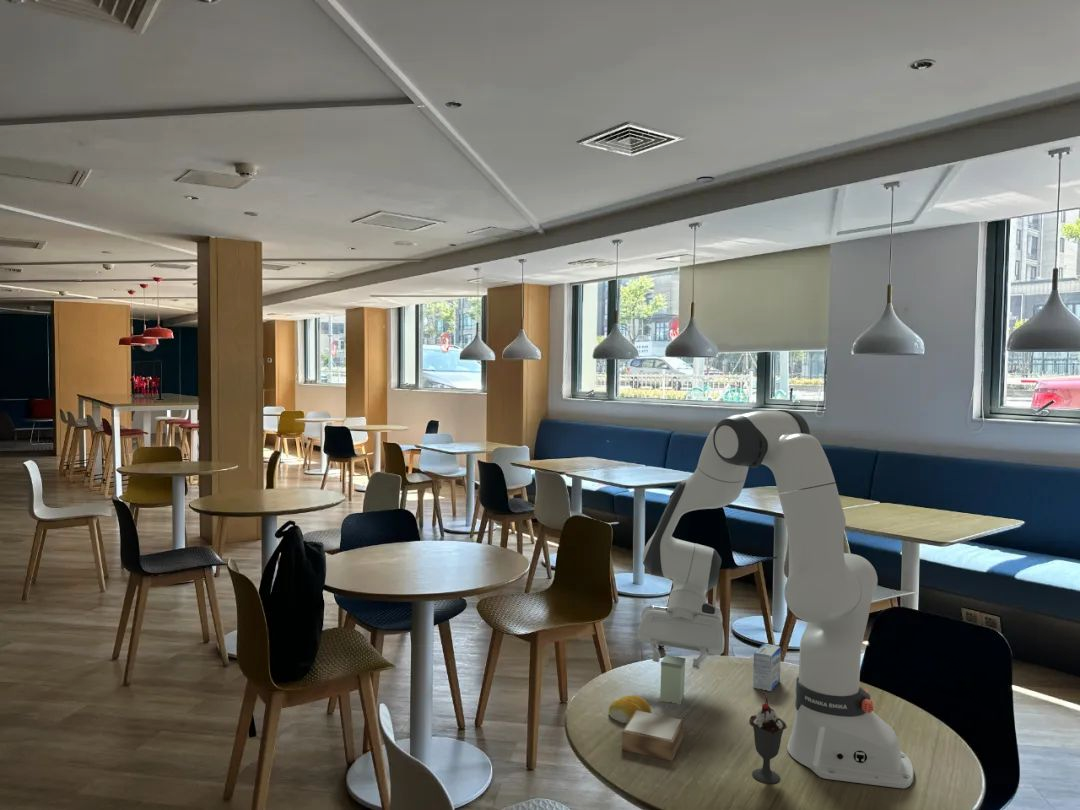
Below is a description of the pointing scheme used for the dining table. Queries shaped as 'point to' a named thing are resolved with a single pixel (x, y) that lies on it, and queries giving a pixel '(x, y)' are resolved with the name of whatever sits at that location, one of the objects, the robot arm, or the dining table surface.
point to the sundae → (767, 741)
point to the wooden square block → (652, 735)
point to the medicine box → (766, 667)
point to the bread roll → (627, 708)
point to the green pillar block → (672, 679)
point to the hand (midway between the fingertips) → (675, 664)
